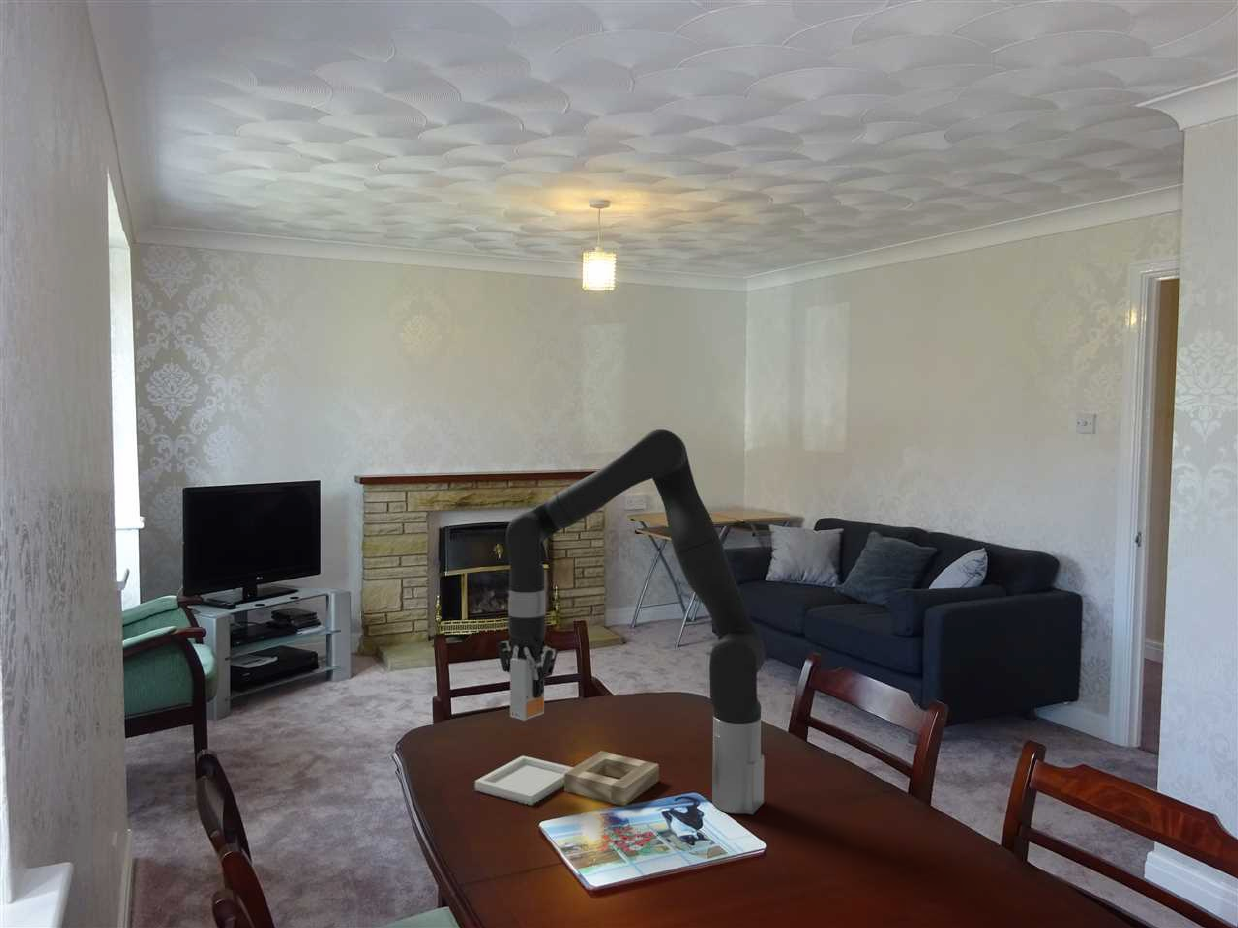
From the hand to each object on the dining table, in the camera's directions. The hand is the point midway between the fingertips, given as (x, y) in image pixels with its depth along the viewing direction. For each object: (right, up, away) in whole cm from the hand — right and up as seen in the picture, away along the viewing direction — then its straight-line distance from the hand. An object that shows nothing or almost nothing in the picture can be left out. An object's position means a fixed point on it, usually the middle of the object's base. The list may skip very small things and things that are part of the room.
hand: (527, 694), depth 178 cm
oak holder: (+17, -19, 0) cm, 25 cm away
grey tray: (0, -18, +1) cm, 18 cm away
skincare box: (0, -5, 0) cm, 5 cm away
